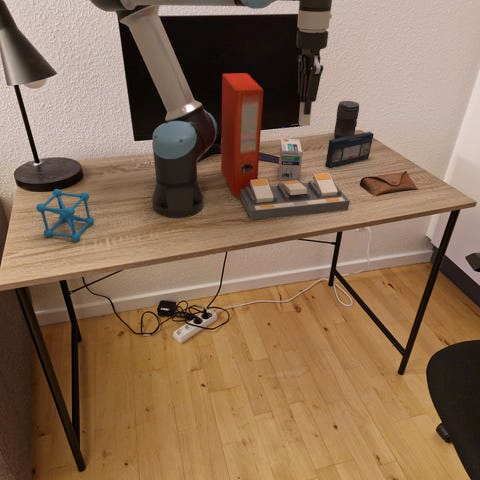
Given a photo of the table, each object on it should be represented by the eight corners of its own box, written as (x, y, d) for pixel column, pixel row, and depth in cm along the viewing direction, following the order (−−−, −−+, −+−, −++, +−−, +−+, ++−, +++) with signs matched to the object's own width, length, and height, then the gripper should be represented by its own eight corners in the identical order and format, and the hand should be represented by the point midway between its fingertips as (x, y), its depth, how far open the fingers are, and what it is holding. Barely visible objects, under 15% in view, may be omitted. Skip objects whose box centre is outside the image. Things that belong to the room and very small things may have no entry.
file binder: (243, 169, 149) (247, 72, 131) (257, 193, 136) (263, 89, 117) (221, 171, 148) (221, 73, 129) (232, 195, 134) (234, 90, 115)
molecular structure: (62, 218, 121) (54, 186, 115) (96, 223, 119) (89, 191, 114) (42, 238, 113) (33, 205, 107) (78, 243, 111) (70, 210, 106)
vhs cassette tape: (329, 169, 151) (333, 142, 146) (323, 165, 153) (328, 139, 148) (369, 160, 158) (375, 134, 153) (363, 157, 161) (369, 131, 155)
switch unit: (250, 220, 123) (251, 206, 120) (240, 197, 133) (240, 184, 130) (348, 209, 129) (350, 196, 126) (330, 189, 139) (332, 176, 137)
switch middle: (290, 195, 125) (290, 189, 124) (281, 186, 132) (281, 181, 131) (306, 193, 126) (306, 187, 125) (296, 185, 133) (297, 179, 132)
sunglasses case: (373, 197, 135) (371, 175, 135) (360, 198, 142) (358, 177, 141) (420, 189, 141) (418, 168, 140) (406, 190, 147) (404, 170, 147)
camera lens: (341, 135, 177) (347, 98, 168) (357, 141, 172) (364, 104, 163) (328, 140, 173) (333, 102, 164) (344, 146, 168) (351, 108, 159)
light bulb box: (299, 182, 143) (303, 151, 136) (279, 181, 143) (282, 150, 136) (297, 167, 151) (300, 138, 145) (277, 167, 151) (280, 137, 145)
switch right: (320, 196, 129) (322, 192, 127) (312, 177, 133) (313, 173, 132) (336, 195, 130) (338, 191, 128) (327, 176, 134) (329, 172, 133)
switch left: (256, 202, 124) (257, 198, 123) (249, 184, 129) (250, 179, 128) (272, 201, 125) (273, 196, 124) (265, 182, 130) (266, 178, 129)
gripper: (337, 34, 100) (325, 132, 113) (318, 24, 110) (309, 116, 124) (306, 35, 98) (298, 134, 112) (290, 25, 109) (284, 117, 122)
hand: (304, 124), depth 118 cm, fingers closed
